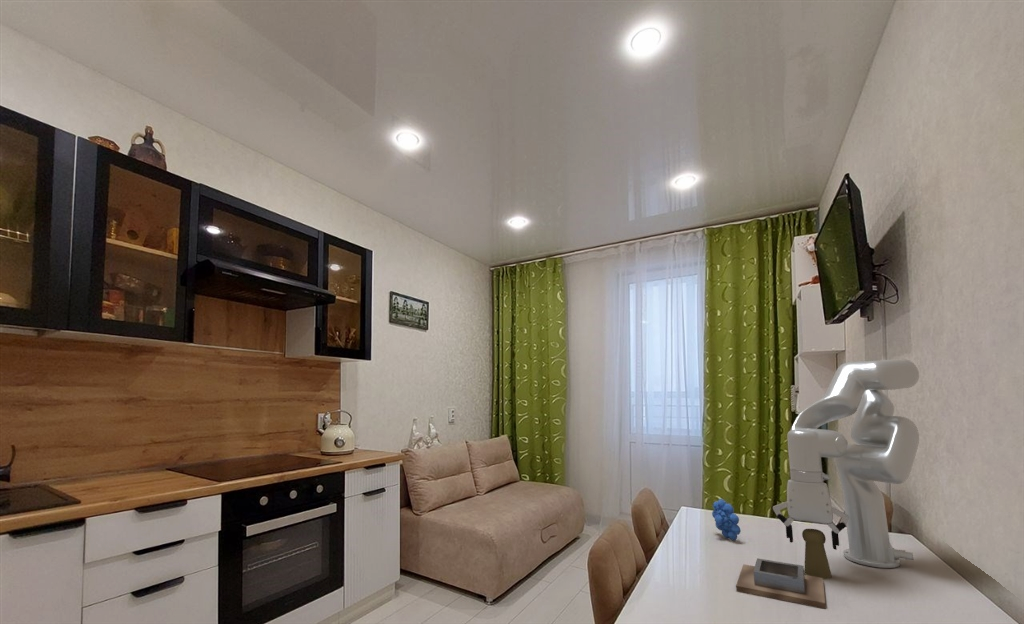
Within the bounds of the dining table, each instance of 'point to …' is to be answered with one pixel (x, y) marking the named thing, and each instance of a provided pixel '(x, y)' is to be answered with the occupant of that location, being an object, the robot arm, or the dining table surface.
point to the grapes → (726, 519)
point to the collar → (779, 575)
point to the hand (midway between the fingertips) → (812, 544)
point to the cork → (815, 554)
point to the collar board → (811, 596)
